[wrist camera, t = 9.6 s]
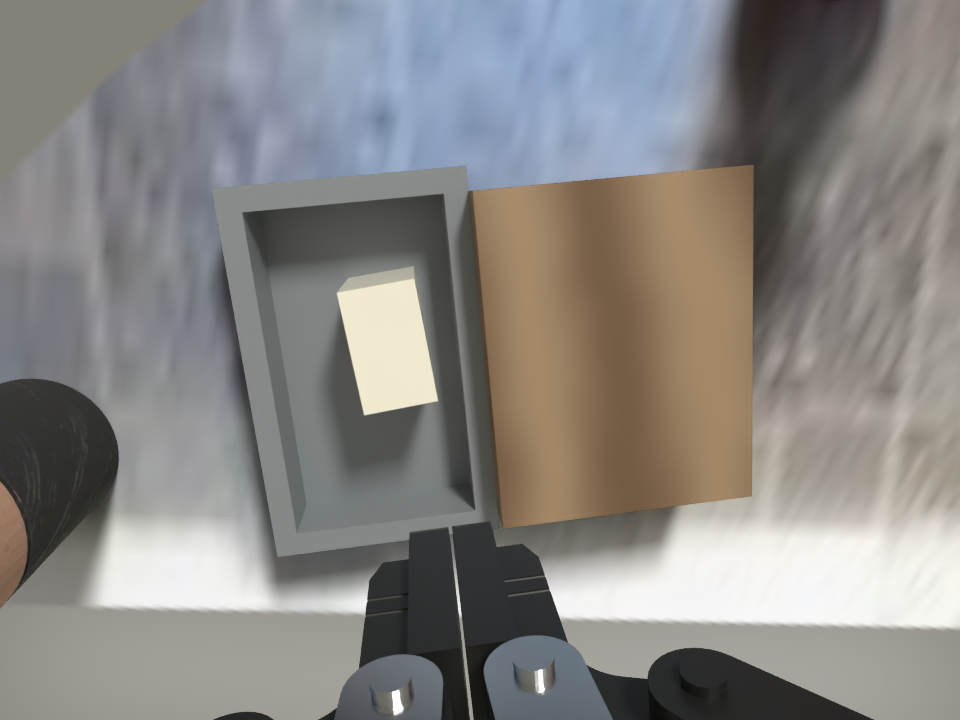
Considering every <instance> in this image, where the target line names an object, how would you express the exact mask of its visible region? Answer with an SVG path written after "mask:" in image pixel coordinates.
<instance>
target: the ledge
mask: <svg viewBox="0 0 960 720" xmlns="http://www.w3.org/2000/svg"><path fill="white" fill-rule="evenodd" d="M753 189H754V165H745V166H735V167H724V168H713V169H702V170H692V171H681V172H670V173H659V174H649V175H638V176H627V177H616V178H606V179H595V180H584V181H573V182H563V183H552V184H541V185H530V186H520V187H509V188H498V189H487V190H477V191H468V193H469V204H470V215H471V226H472V237H473V247H474V258H475V269H476V280H477V291H478V302H479V313H480V324H481V335H482V345H483V356H484V367H485V378H486V389H487V400H488V411H489V422H490V433H491V443H492V454H493V465H494V476H495V487H496V498H497V508H498V512H499V515H500V519H501V522H502V526H503V529H505V528H513V527H520V526H528V525H536V524H543V523H551V522H558V521H566V520H574V519H581V518H589V517H597V516H604V515H612V514H619V513H627V512H635V511H642V510H650V509H658V508H665V507H673V506H680V505H688V504H696V503H703V502H711V501H719V500H726V499H734V498H742V497H749V496H752V381H753Z"/></svg>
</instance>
